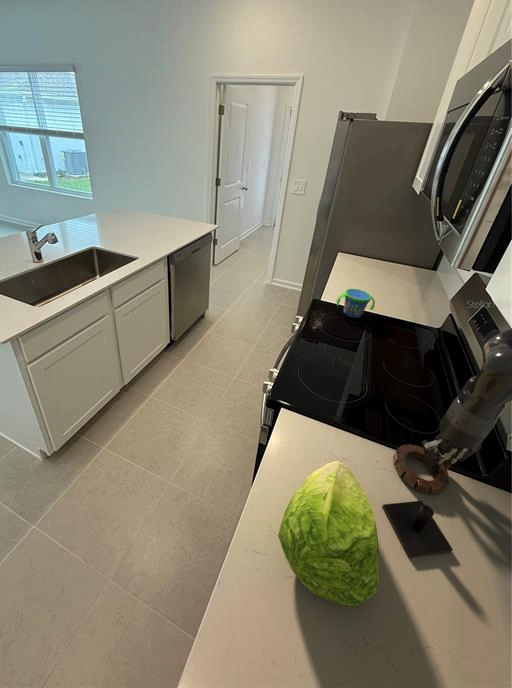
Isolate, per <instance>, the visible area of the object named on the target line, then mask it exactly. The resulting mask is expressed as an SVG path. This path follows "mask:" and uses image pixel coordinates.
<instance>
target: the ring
mask: <svg viewBox="0 0 512 688" xmlns="http://www.w3.org/2000/svg"><path fill="white" fill-rule="evenodd" d="M409 457H410V458H411V457H413V458H415V459H419V460H421V461H423V462H424V463H425V464H427V462H428V461H429V459H428V458H427V457H426V455H425V454H424V450H423V446H418V445H416V444H402V445H400V446H399V447H398V448H397V449H396V450H395V452H394V454H393V457H392V458H393V459H392V460H393V466H394V469H395V471H396V472H397V474H398V477H400V478H402V481H404V482H405V483H407V485H408V486H410V487H411V488H412V489H413V488H414V490H415V491H418V492H420V493H423V494H426V495H428V494H429V495H431V496H433V495H439V494H442V493H443V491H444V490H445V488H446V487H447V486H448V484H449V483H450V482H449V481H450V476H449V472H448V470H446V468H445V466H444V465H443V464H441V466H440V467H439V469H438V470H437V471H436V473H434V477H435V479H433V480H432V479H431V480H428V479H425V478H422V477H419V476H418V475H416V473H415V472H413V471H412V470H411V469H410V468H409V466H408V465H407V463H406V458H409Z"/></svg>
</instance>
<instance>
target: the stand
mask: <svg viewBox="0 0 512 688" xmlns="http://www.w3.org/2000/svg"><path fill="white" fill-rule="evenodd" d="M381 509H382V510H383V512H384V514H385V516H386V518H387V520H388V522H389V523H390V525H391V528H392V529H393V532H394V533H395V535H396V537H397V540H398V541H399V543H400V544H401V547H402V549H403V550H404V553H405V554H406V556H407V558H418V557H425V556H433V555H441V554H450V553H451V552H452V551H453V550H454V549H453V547H452V546H451V544H450V543H449V540H447V538H446V536H445V535H444V533H443V532H442V530H441V528H440V527H439V525H438V524H437V522H436V521H435V519H434V517H433V516H434V515H435V512H434V509H433V507H431V506H429V505H427V504H425V503H424V502H423V500H415V501H404V502H395V503H385V504H383V505H382V506H381Z"/></svg>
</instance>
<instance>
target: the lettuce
mask: <svg viewBox="0 0 512 688" xmlns="http://www.w3.org/2000/svg"><path fill="white" fill-rule="evenodd" d="M371 506H372V505H371V503H370V501H369V499H368V497H367V495H366V493H365V491H364V489H363V487H362V486H361V484H360V483H359V481H358V480H357V478H356V477H355V475H354V474H353V472H352V471H351V470H350V468H348V467H347V465H346V464H345V463H344V462H341V461H339V460H334V461H331V462H328V463H327V464H325V465H323V466H322V467H319V468H318V469H316V470H314V471H313V472H312V473H311V474H309V475H308V476H307V477H306V478H305V480H304V482H303V483H302V485H301V486H300V487H299V488H298V489H297V490H296V492H295V493H294V494H293V495H292V497H291V499H290V501H289V502H288V505H287V507H286V509H285V511H284V514H283V517H282V519H281V523H280V526H279V531H278V535H277V537H278V540H279V542H280V546H281V548H282V551H283V553H284V556H285V559H286V561H287V564H288V565H289V567H290V569H291V571H292V573H294V575H295V576H296V578H297V579H298V580H299V581H300V583H302V584H303V586H304V587H306V589H308V590H309V591H310V592H311V593H312V594H314V595H317V596H318V597H320V598H321V599H324V600H327V601H329V602H332V603H336V604H341V605H343V606H344V605H345V606H348V607H351V608H355V607H357V606H358V607H359V606H362V605H364V604H365V603H366V602H367V601H368V600H369V599H371V598H372V597H373V596H375V594H377V592H378V587H379V582H380V575H379V574H380V569H379V568H380V567H379V555H380V550H379V537H378V529H377V528H378V527H377V524H376V519H375V516H374V515H375V514H374V512H373V509H372V507H371Z"/></svg>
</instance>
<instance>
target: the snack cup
mask: <svg viewBox="0 0 512 688" xmlns="http://www.w3.org/2000/svg"><path fill="white" fill-rule="evenodd" d="M343 297H344V303H343V304H344V305H343V313H344V314H345V316H347V317H348V318H355V319H356V318H357V319H358V318H360V317H362V315H363V313H364V312H365V310H366V308H367V306H368V304H369V303H370V302H371V300H372V302H371V305H370V307H369V309H370V310H371V311H373V310H374V308H375V305H376V303H375V302H376V300H375V299H374V297H373V296H372V295H371V294H370V293H368V292H367V291H366V290H365V291H364V290H362V289H358V288H348V289H346V290H345V292H343V293H341V294H340V295H339V296H338V297H337V299H336V306H337V307H339V306H340V305H339V304H340V302H341V299H342V298H343Z"/></svg>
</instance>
